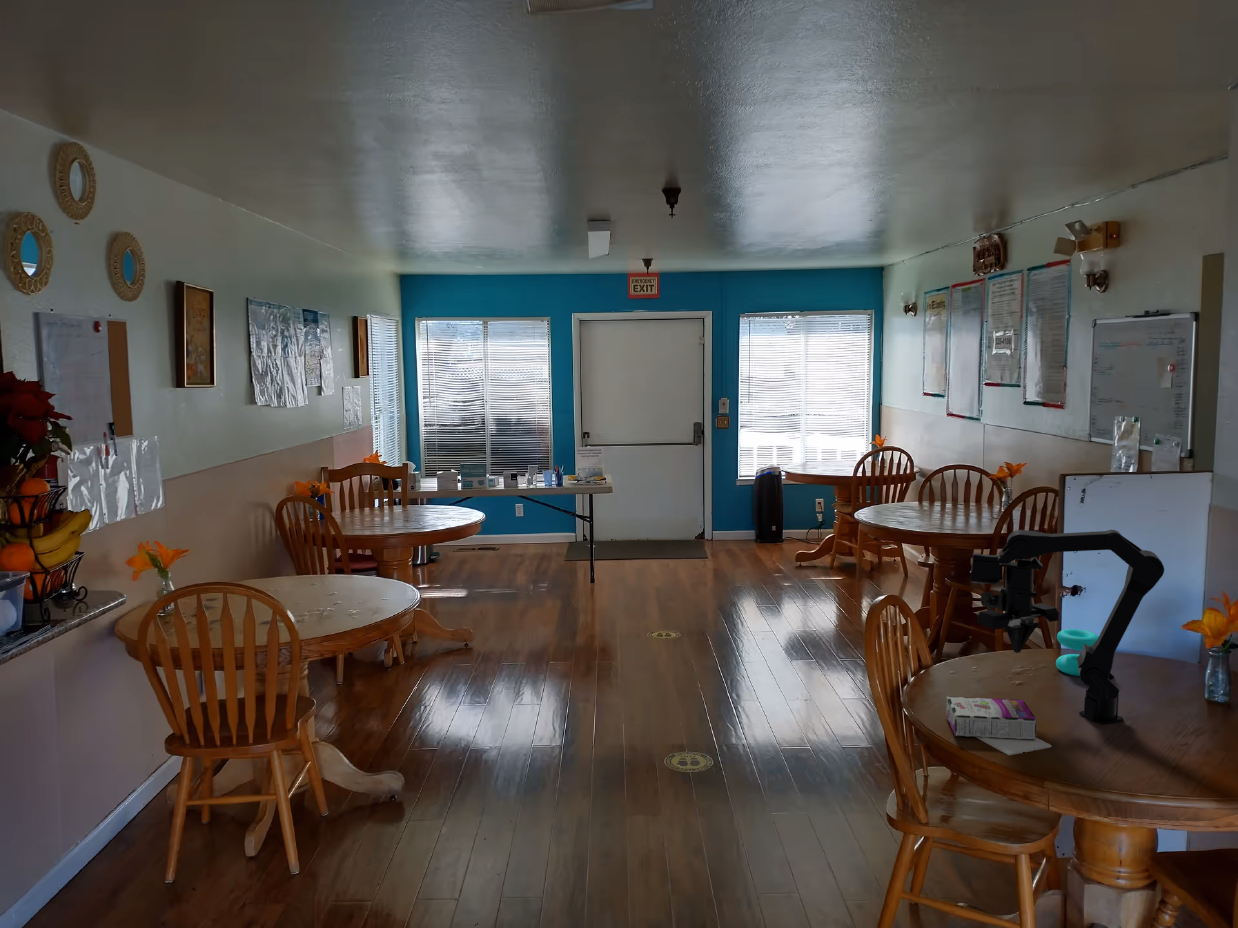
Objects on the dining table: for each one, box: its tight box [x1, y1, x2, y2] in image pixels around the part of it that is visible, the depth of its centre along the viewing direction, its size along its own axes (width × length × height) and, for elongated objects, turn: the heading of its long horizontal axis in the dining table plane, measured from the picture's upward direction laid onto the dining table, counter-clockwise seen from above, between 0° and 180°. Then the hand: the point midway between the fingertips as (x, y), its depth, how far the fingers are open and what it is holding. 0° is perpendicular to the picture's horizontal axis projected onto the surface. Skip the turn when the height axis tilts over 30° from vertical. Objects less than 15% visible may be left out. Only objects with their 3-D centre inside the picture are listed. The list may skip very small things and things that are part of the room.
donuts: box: [1055, 628, 1099, 677], centre depth 230 cm, size 10×10×10 cm
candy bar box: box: [945, 696, 1037, 740], centre depth 195 cm, size 11×5×16 cm
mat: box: [975, 737, 1052, 756], centre depth 191 cm, size 11×12×1 cm
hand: (1016, 652), depth 207 cm, fingers closed
